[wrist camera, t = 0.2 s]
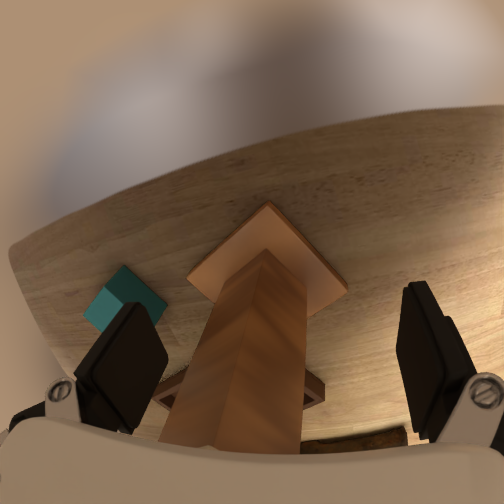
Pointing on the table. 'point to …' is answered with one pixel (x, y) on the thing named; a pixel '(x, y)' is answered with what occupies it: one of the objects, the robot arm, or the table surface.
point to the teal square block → (122, 299)
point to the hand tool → (358, 443)
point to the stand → (253, 340)
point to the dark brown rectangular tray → (171, 386)
